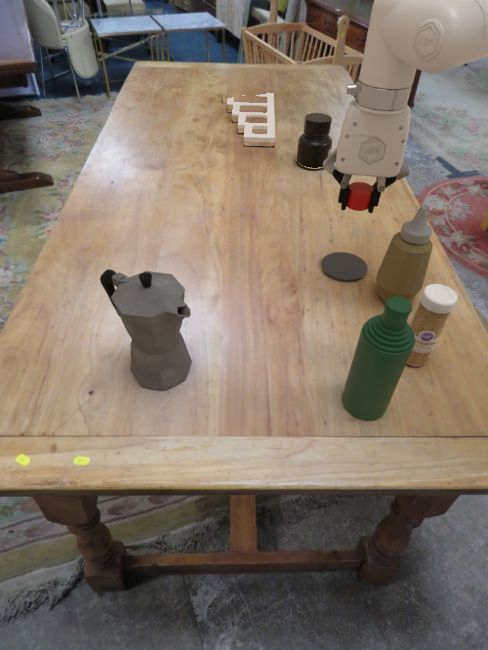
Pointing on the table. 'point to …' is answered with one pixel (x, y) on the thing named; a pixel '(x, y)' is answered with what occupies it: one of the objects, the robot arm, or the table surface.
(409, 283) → the squeeze bottle
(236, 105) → the holder
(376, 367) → the bottle
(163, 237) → the table surface
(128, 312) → the coffeepot
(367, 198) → the cap
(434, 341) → the sprinkles bottle
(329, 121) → the ink bottle
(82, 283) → the table surface
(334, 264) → the coaster
